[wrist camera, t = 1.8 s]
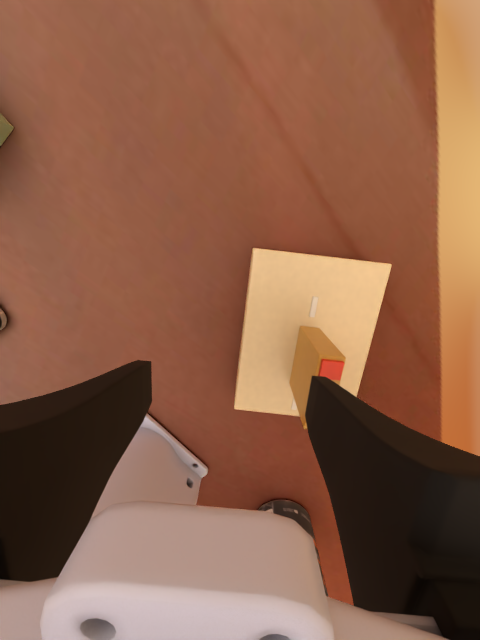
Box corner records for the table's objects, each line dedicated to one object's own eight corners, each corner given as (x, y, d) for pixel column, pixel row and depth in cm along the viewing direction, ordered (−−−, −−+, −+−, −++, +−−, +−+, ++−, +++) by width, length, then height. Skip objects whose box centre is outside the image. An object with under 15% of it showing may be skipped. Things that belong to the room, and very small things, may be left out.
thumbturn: (307, 385, 19) (329, 435, 14) (288, 383, 19) (304, 432, 14) (319, 327, 18) (348, 359, 13) (299, 325, 18) (320, 356, 13)
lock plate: (336, 400, 23) (350, 423, 20) (235, 388, 23) (233, 410, 20) (371, 261, 20) (394, 264, 17) (252, 247, 20) (253, 247, 16)
